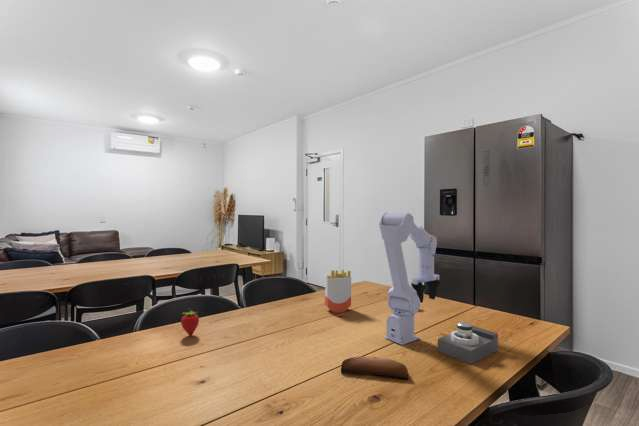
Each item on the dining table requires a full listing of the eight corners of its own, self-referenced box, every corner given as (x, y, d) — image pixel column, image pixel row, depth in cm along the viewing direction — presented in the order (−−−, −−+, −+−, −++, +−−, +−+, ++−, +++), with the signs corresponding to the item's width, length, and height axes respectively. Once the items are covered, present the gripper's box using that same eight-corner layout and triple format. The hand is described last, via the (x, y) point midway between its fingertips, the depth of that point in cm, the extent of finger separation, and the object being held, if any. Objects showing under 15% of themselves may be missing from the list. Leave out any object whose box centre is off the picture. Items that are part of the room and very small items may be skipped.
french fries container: (324, 309, 150) (324, 269, 149) (347, 307, 153) (347, 268, 152) (327, 312, 145) (327, 271, 145) (351, 310, 148) (351, 269, 148)
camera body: (471, 364, 98) (471, 345, 98) (437, 351, 107) (437, 334, 106) (497, 350, 107) (497, 333, 107) (465, 339, 116) (465, 323, 116)
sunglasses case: (406, 365, 97) (407, 350, 93) (407, 389, 91) (408, 374, 88) (343, 360, 100) (342, 345, 97) (341, 382, 94) (339, 367, 91)
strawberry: (180, 340, 114) (180, 311, 114) (181, 332, 121) (181, 305, 121) (198, 338, 116) (198, 309, 116) (199, 331, 123) (199, 303, 123)
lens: (466, 343, 103) (466, 327, 103) (453, 339, 106) (453, 323, 106) (475, 340, 105) (475, 324, 105) (462, 336, 109) (462, 320, 109)
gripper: (423, 269, 123) (423, 306, 123) (446, 265, 132) (446, 299, 132) (407, 266, 129) (407, 301, 129) (430, 262, 137) (430, 295, 138)
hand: (426, 300), depth 131 cm, fingers open, 7 cm apart
